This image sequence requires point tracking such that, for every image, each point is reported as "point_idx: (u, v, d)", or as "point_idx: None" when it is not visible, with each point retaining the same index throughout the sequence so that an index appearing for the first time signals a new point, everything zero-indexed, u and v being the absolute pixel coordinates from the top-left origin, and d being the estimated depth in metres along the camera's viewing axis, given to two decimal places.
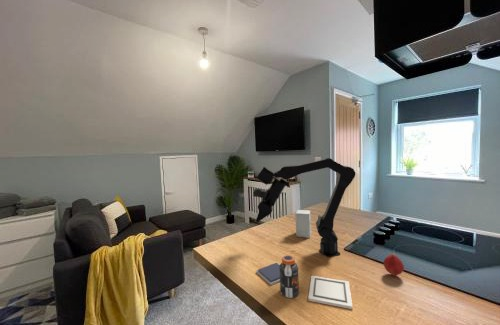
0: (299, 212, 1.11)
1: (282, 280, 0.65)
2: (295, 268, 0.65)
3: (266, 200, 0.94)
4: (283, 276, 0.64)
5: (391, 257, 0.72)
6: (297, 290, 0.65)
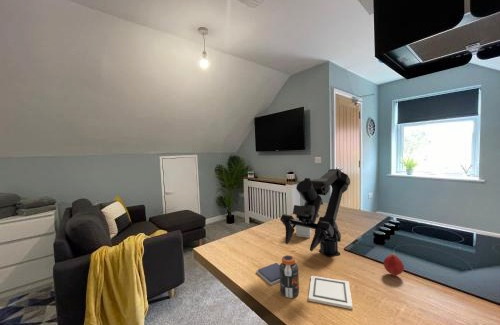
0: None
1: (282, 280, 0.65)
2: (295, 268, 0.65)
3: (312, 220, 0.74)
4: (283, 276, 0.64)
5: (391, 257, 0.72)
6: (297, 290, 0.65)
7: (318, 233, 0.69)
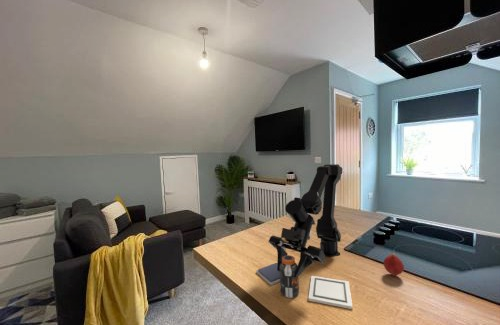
0: None
1: (282, 280, 0.65)
2: (295, 268, 0.65)
3: (302, 244, 0.68)
4: (283, 276, 0.64)
5: (391, 257, 0.72)
6: (297, 290, 0.65)
7: (303, 258, 0.64)
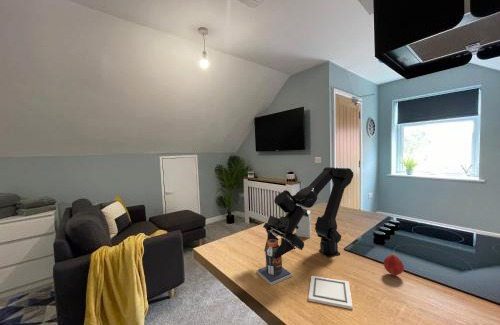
0: None
1: (266, 259, 0.76)
2: (276, 250, 0.74)
3: (287, 231, 0.77)
4: (266, 256, 0.75)
5: (391, 257, 0.72)
6: (278, 269, 0.75)
7: (283, 243, 0.73)
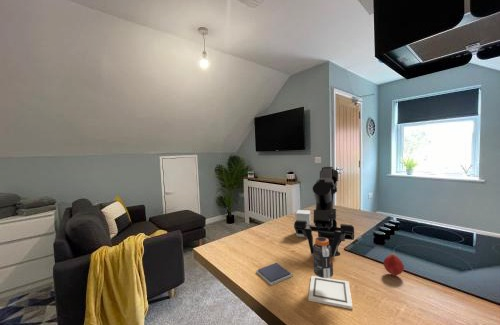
0: (299, 212, 1.11)
1: (319, 262, 0.64)
2: (331, 248, 0.65)
3: None
4: (321, 258, 0.64)
5: (391, 257, 0.72)
6: (332, 269, 0.65)
7: (338, 237, 0.65)
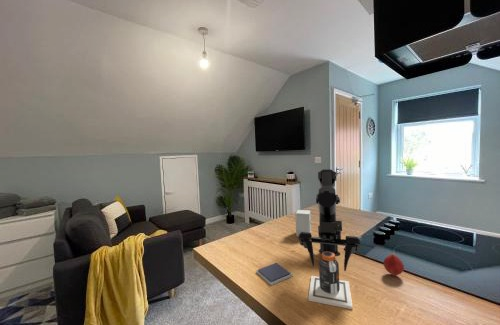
0: (299, 212, 1.11)
1: (326, 277, 0.64)
2: (337, 262, 0.65)
3: None
4: (328, 273, 0.63)
5: (391, 257, 0.72)
6: (338, 284, 0.65)
7: (349, 250, 0.65)
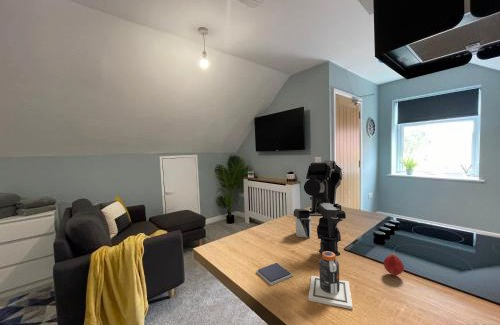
0: None
1: (326, 277, 0.64)
2: (337, 262, 0.65)
3: None
4: (328, 273, 0.64)
5: (391, 257, 0.72)
6: (339, 284, 0.65)
7: (337, 222, 0.77)
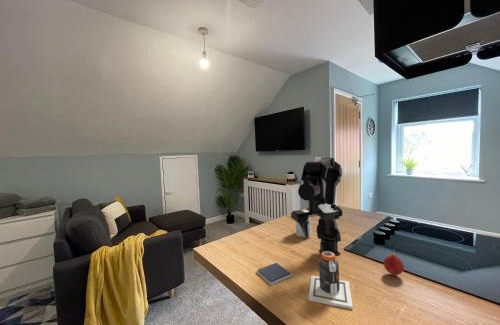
0: None
1: (326, 277, 0.64)
2: (337, 262, 0.65)
3: None
4: (328, 273, 0.64)
5: (391, 257, 0.72)
6: (338, 284, 0.65)
7: (334, 220, 0.78)
